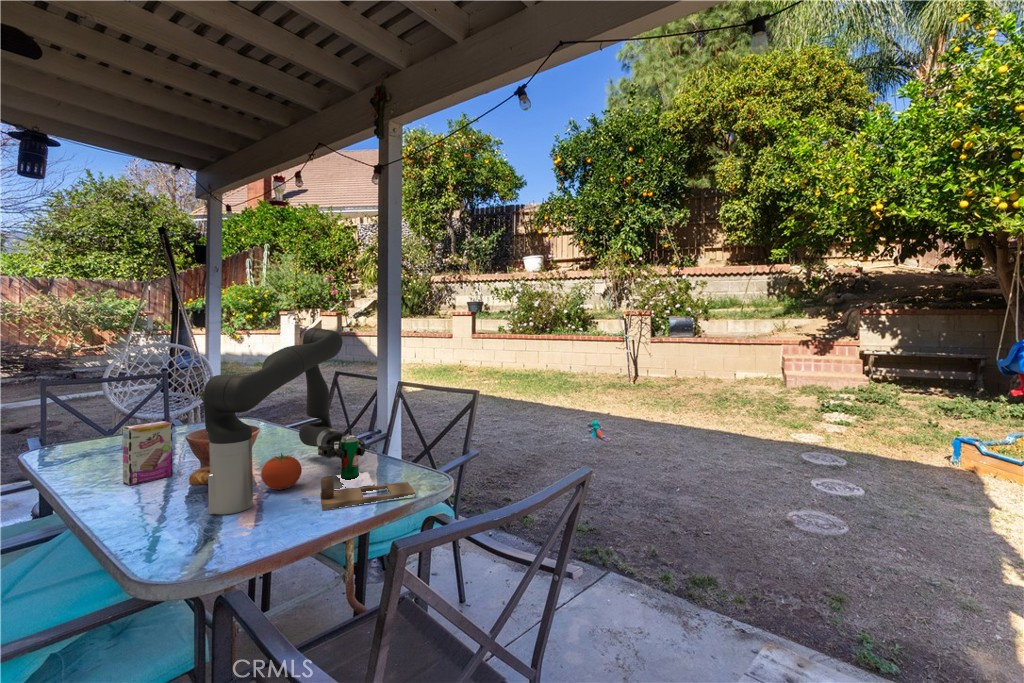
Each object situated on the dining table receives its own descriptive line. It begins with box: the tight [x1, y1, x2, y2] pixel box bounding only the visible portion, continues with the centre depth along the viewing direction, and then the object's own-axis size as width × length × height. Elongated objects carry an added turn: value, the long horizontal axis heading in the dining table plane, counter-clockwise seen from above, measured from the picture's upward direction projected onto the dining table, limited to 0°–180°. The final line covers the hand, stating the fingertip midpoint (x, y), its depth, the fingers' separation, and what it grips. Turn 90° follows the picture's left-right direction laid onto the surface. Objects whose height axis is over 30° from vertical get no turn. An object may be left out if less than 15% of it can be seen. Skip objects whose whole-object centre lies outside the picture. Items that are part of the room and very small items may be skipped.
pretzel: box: [188, 466, 210, 486], centre depth 145 cm, size 12×11×4 cm
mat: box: [326, 474, 346, 489], centre depth 143 cm, size 12×13×1 cm
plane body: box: [319, 476, 416, 511], centre depth 130 cm, size 23×9×6 cm, turn 114°
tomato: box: [260, 452, 303, 491], centre depth 137 cm, size 10×10×10 cm
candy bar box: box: [121, 420, 173, 486], centre depth 144 cm, size 11×5×16 cm, turn 149°
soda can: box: [340, 434, 360, 480], centre depth 143 cm, size 5×5×12 cm
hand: (352, 454), depth 141 cm, fingers closed on soda can, 5 cm apart
